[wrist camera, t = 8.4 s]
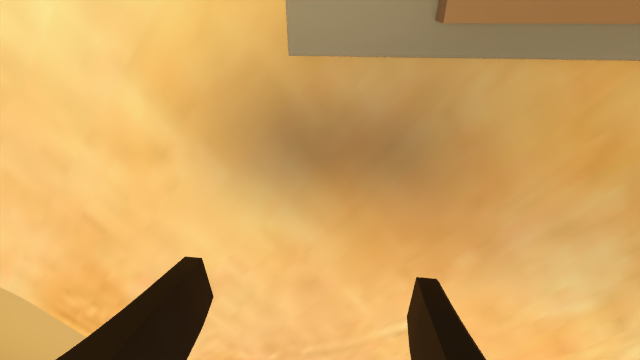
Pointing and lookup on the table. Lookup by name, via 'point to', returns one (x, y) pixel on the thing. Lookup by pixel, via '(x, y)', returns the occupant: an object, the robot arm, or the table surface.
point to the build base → (466, 29)
